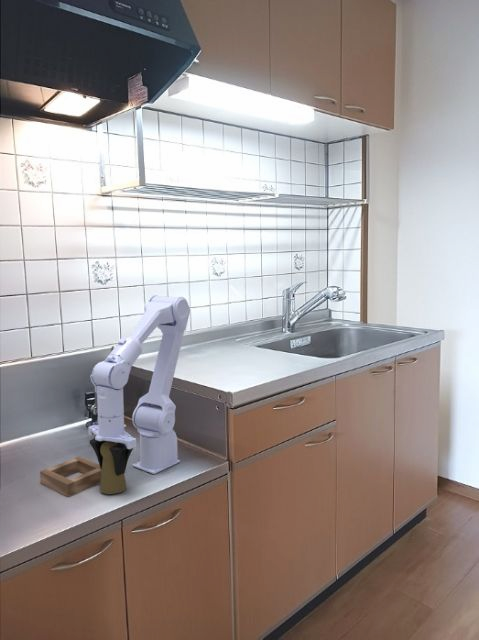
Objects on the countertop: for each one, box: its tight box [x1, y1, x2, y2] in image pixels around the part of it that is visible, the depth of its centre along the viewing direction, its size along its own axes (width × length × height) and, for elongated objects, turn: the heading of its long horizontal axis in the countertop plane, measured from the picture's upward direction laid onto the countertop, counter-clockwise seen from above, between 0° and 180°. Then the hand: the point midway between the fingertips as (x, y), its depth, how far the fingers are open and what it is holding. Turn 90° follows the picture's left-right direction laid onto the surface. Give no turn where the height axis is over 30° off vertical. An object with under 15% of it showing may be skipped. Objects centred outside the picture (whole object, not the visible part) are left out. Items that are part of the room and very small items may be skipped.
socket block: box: [39, 456, 102, 498], centre depth 119 cm, size 11×11×3 cm
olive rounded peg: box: [99, 441, 127, 495], centre depth 115 cm, size 6×6×11 cm
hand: (112, 470), depth 115 cm, fingers closed on olive rounded peg, 5 cm apart
